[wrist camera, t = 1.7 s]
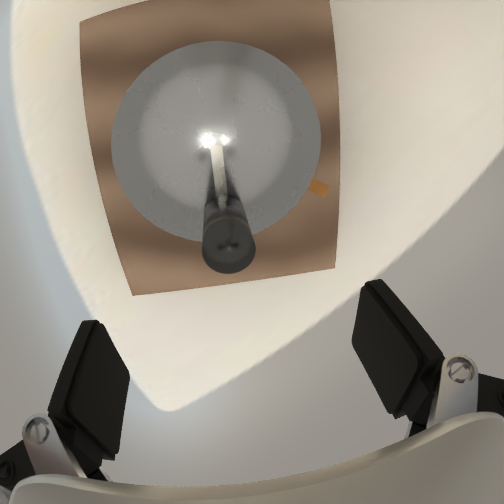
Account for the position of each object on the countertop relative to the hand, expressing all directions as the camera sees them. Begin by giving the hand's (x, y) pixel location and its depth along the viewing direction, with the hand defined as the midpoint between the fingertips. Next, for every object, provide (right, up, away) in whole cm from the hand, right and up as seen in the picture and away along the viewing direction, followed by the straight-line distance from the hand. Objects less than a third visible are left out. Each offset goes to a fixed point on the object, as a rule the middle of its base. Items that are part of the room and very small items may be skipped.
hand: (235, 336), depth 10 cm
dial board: (-2, +11, +9) cm, 15 cm away
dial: (-2, +10, +7) cm, 12 cm away
